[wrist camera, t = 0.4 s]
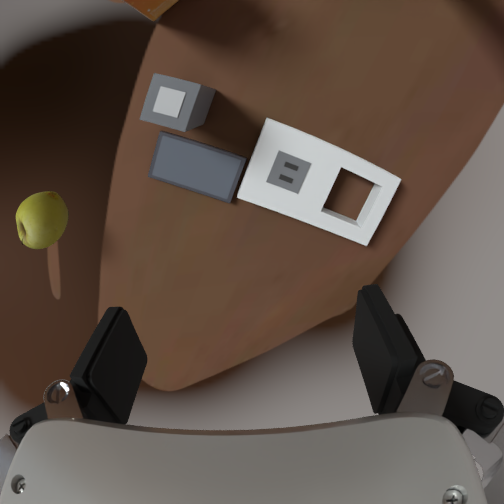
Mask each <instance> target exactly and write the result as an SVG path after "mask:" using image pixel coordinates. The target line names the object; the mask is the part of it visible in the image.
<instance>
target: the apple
mask: <svg viewBox="0 0 504 504" xmlns="http://www.w3.org/2000/svg"><path fill="white" fill-rule="evenodd" d="M68 215H69V213H68V208H67V206H66V204H65V202H64V201H63V199H62V198H61V197H60V195H58V194H57V193H55V192H42V193H37V194H34V195H32V196H30V197H28V198H27V199H26V200H24V201H23V202H22V203H21V205H20V207H19V208H18V211H17V213H16V222H17V228H18V234H19V237H20V239H21V241H22V245H23V243H24V244H25V245H26V246H28V247H30V248H34V249H42V248H46V247H49V246H51V245H52V244H54V243H55V242H56V241H57V240H58V239H59V238H60V237H61V235H62V234H63V232H64V231H65V228H66V226H67V222H68Z"/></svg>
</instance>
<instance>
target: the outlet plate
mask: <svg viewBox="0 0 504 504" xmlns="http://www.w3.org/2000/svg"><path fill="white" fill-rule="evenodd" d="M341 167H342V168H344V169H346V170H349V171H351V172H353V173H355V174H357V175H359V176H361V177H363V178H365V179H368V180H370V181H372V182H374V183H375V184H374V186H373V188H372V190H371V192H370V194H369V196H368V198H367V200H366V202H365V204H364V206H363V208H362V210H361V212H360V214H359V216H358V218H357V220H356V221H355V220H353V219H350V218H348V217H346V216H343V215H341V214H338V213H336V212H334V211H331V210H329V209H326V208H324V207H323V205H324V203H325V201H326V199H327V197H328V195H329V193H330V190H331V188H332V186H333V184H334V182H335V180H336V177H337V175H338V173H339V171H340V169H341ZM400 181H401V179H400V178H398V177H397V176H395V175H393V174H392V173H390V172H388V171H386V170H384V169H382V168H380V167H378V166H376V165H374V164H373V163H371V162H369V161H367V160H365V159H363V158H361V157H359V156H356V155H354V154H352V153H350V152H348V151H346V150H344V149H342V148H340V147H337V146H335V145H333V144H331V143H329V142H326V141H324V140H322V139H320V138H317V137H315V136H313V135H310V134H308V133H305V132H303V131H301V130H298V129H296V128H293V127H291V126H288V125H286V124H283V123H281V122H278V121H275V120H273V119H270V118H266V120H265V123H264V125H263V128H262V131H261V133H260V136H259V138H258V141H257V143H256V146H255V149H254V151H253V154H252V156H251V159H250V162H249V164H248V167H247V169H246V172H245V175H244V177H243V180H242V183H241V185H240V188H239V191H238V195H237V198H240V199H242V200H245V201H248V202H251V203H254V204H257V205H260V206H262V207H265V208H268V209H271V210H274V211H276V212H279V213H282V214H285V215H287V216H290V217H293V218H295V219H298V220H301V221H303V222H306V223H309V224H311V225H314V226H317V227H319V228H322V229H325V230H327V231H330V232H332V233H335V234H337V235H340V236H343V237H345V238H348V239H350V240H353V241H355V242H358V243H360V244H363V245H365V246H367V245H368V243H369V241H370V239H371V237H372V236H373V234H374V232H375V230H376V228H377V226H378V224H379V222H380V221H381V219H382V217H383V215H384V213H385V211H386V209H387V207H388V205H389V203H390V201H391V199H392V197H393V195H394V193H395V191H396V189H397V187H398V185H399V183H400Z"/></svg>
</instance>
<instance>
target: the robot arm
mask: <svg viewBox="0 0 504 504" xmlns="http://www.w3.org/2000/svg"><path fill="white" fill-rule="evenodd" d="M353 348H354V352H355V355H356V358H357V361H358V364H359V367H360V370H361V373H362V376H363V379H364V382H365V386H366V389H367V392H368V395H369V398H370V402H371V405H372V409H373V412H374V413H375V414H376V413H378V414H379V415H375V416H368V417H362V418H356V419H350V420H344V421H337V422H331V423H322V424H315V425H306V426H297V427H286V428H273V429H257V430H223V431H222V430H183V429H166V428H153V427H143V426H134V425H125V424H126V423H127V422H128V419H129V416H130V412H131V409H132V406H133V402H134V400H135V397H136V394H137V390H138V388H139V385H140V382H141V379H142V376H143V373H144V370H145V367H146V364H147V355H146V353H145V350H144V348H143V346H142V344H141V342H140V340H139V337H138V335H137V333H136V331H135V329H134V326H133V324H132V322H131V319H130V317H129V315H128V312H127V311H126V310H124V309H123V308H122V307H109V308H108V309H107V310H106V312H105V314H104V315H103V317H102V319H101V320H100V322H99V324H98V325H97V327H96V329H95V331H94V333H93V334H92V336H91V338H90V339H89V341H88V343H87V345H86V347H85V349H84V350H83V352H82V354H81V356H80V357H79V359H78V361H77V363H76V365H75V367H74V369H73V370H72V372H71V375H70V377H71V380H70V382H68V381H66V380H58V381H55V382H53V383H52V384H50V386H49V387H47V389H46V391H45V393H44V403H42V404H40V405H39V406H37V407H35V408H33V409H31V410H29V411H27V412H26V413H24V414H22V415H20V416H18V417H17V418H16V419H15V420H14V421H13V422H12V424H11V426H10V435H8V434H6V435H5V436H4V437H2V438H1V439H0V504H504V407H503V405H502V403H501V401H500V400H499V399H498V398H497V397H495V396H493V395H490V394H488V393H485V392H482V391H480V390H477V389H474V388H472V387H469V386H467V385H464V384H462V383H459V382H456V381H454V380H453V379H454V375H453V371H452V370H451V368H450V367H449V366H448V365H447V364H446V363H444V362H442V361H439V360H427V361H426V360H425V358H424V356H423V354H422V353H421V350H420V349H419V347H418V345H417V343H416V341H415V339H414V337H413V336H412V334H411V332H410V330H409V328H408V326H407V325H406V323H405V321H404V320H403V318H402V316H401V315H400V314H394V312H393V310H392V308H391V306H390V305H389V303H388V301H387V299H386V298H385V296H384V294H383V292H382V291H381V289H380V287H379V286H378V284H373V285H366V286H363V287H362V290H359V291H358V296H357V306H356V316H355V325H354V333H353ZM472 455H473V456H474V457H476V458H475V459H473V456H472ZM474 460H475V461H476V462H477V463H478V464H479V465H480V466H481V467H482V470H483V478H482V480H481V479H480V476H479V473H478V470H477V467H476V464H475V461H474Z"/></svg>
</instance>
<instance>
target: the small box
mask: <svg viewBox="0 0 504 504" xmlns="http://www.w3.org/2000/svg"><path fill="white" fill-rule="evenodd" d="M123 1H124V2H126V3H127V4H129V5H130V6H132V7H133V8H135V9H136V10H137V11H139V12H141V13H142V14H143V15H145V16H146V17H148V18H149V19H150V20H152V21H155V20H156V19H157V18H158V17H159V16H160V15H162V14H163V13H164V12H165V11H166V10H167V9H169V8H170V7H171V6H172V5H174V4H175V3H176V2H178V1H179V0H123Z"/></svg>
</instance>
